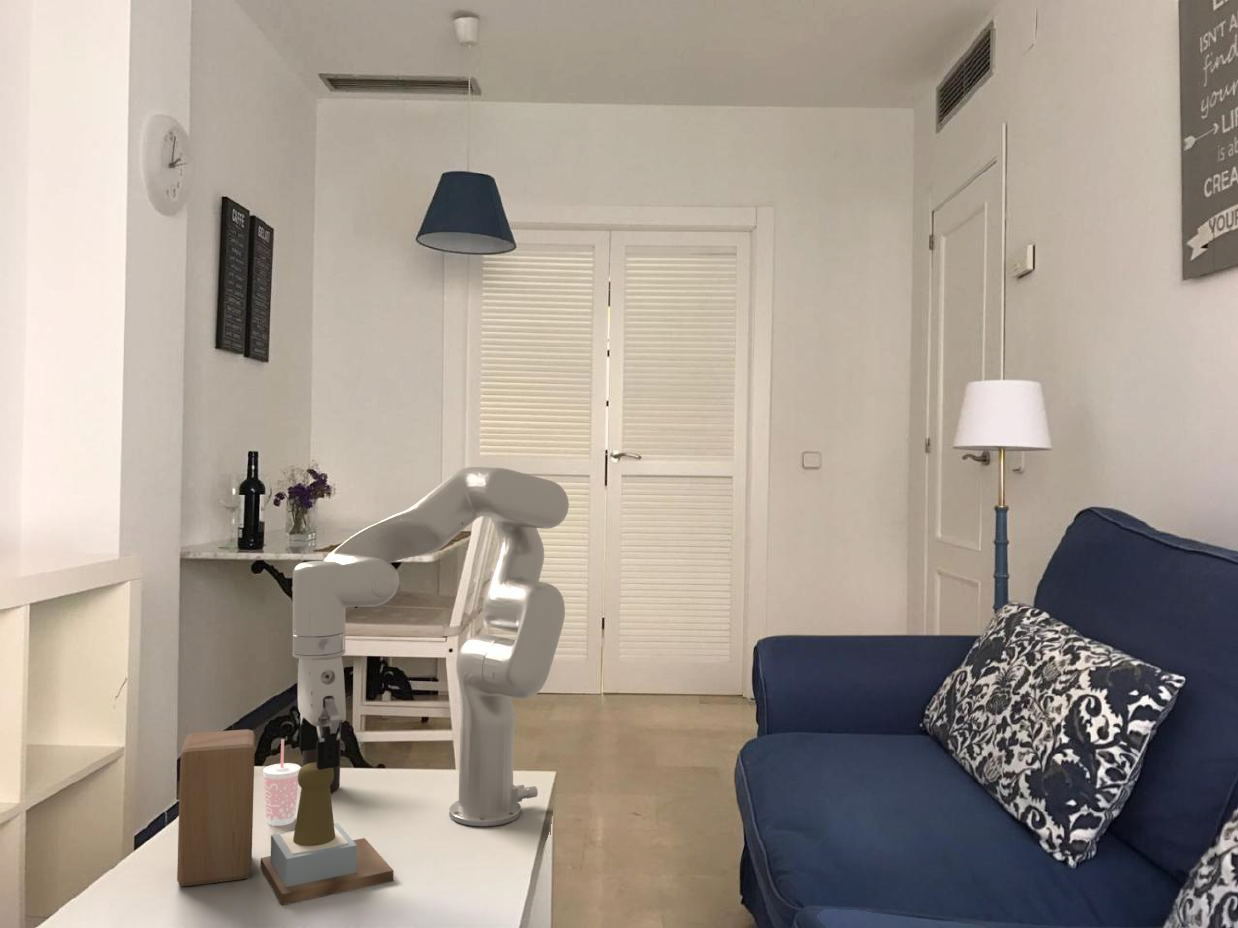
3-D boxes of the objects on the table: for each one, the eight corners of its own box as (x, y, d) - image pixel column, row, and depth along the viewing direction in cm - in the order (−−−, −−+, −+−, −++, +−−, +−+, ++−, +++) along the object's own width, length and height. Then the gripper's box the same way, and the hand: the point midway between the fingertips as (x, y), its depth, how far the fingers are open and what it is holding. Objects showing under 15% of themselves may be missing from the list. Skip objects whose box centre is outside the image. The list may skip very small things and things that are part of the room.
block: (182, 862, 145) (185, 731, 145) (251, 854, 148) (255, 726, 148) (176, 889, 135) (180, 750, 136) (251, 880, 139) (254, 745, 139)
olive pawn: (322, 847, 137) (324, 772, 137) (284, 843, 139) (287, 768, 139) (342, 832, 143) (344, 759, 143) (306, 828, 145) (308, 756, 145)
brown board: (364, 847, 152) (364, 837, 152) (393, 880, 140) (393, 870, 140) (260, 867, 143) (260, 857, 143) (281, 904, 132) (282, 894, 132)
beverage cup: (256, 819, 163) (258, 738, 163) (290, 811, 167) (292, 732, 167) (269, 830, 158) (272, 746, 158) (305, 821, 162) (307, 740, 162)
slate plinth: (337, 848, 148) (337, 821, 148) (356, 872, 139) (356, 843, 139) (270, 861, 142) (271, 833, 142) (286, 886, 134) (286, 857, 134)
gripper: (361, 652, 136) (361, 770, 136) (328, 632, 150) (328, 738, 151) (308, 658, 132) (308, 780, 132) (279, 636, 146) (279, 746, 147)
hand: (319, 758), depth 141 cm, fingers open, 9 cm apart
